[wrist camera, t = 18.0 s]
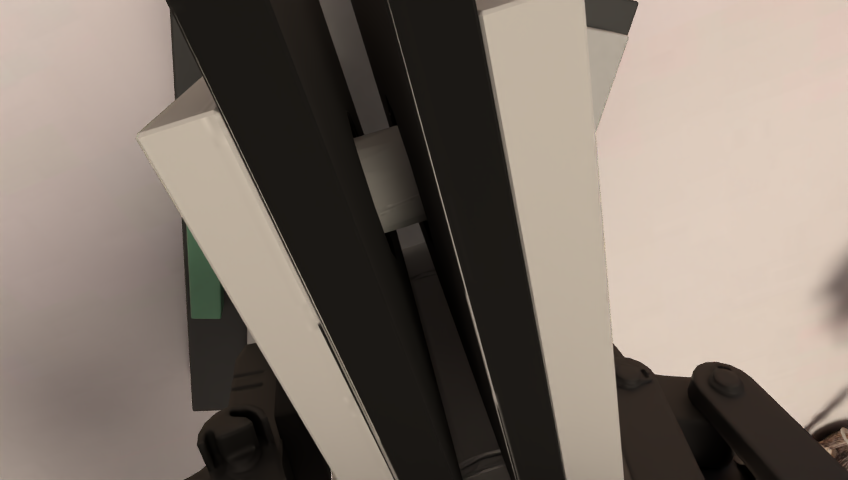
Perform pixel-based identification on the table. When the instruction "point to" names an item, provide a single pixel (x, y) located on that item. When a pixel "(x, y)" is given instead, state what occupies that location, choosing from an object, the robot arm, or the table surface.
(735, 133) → the table surface
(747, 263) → the table surface
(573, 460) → the hinge
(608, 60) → the scale
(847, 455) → the tarantula
